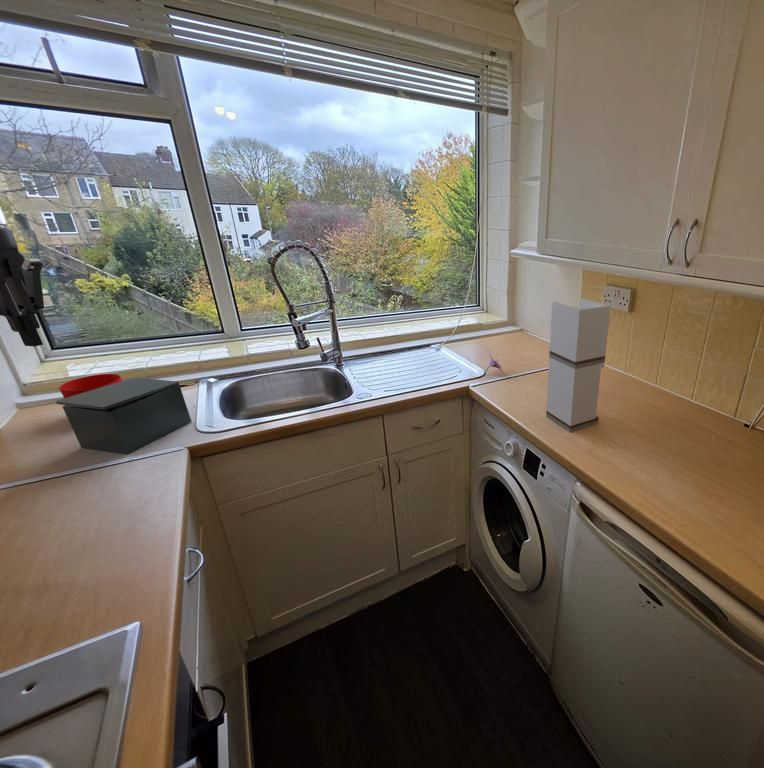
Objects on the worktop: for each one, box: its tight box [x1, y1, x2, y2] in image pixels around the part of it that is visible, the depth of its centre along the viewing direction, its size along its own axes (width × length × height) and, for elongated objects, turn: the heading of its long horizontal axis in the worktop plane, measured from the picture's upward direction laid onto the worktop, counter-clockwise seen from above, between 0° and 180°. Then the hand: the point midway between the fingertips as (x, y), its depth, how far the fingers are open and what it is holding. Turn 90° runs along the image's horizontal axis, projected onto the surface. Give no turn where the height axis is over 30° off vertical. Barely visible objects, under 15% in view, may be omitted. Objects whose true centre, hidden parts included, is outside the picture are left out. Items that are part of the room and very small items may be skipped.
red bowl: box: [58, 373, 123, 399], centre depth 118 cm, size 13×17×10 cm
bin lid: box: [55, 376, 180, 410], centre depth 105 cm, size 18×15×1 cm
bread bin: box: [61, 383, 192, 455], centre depth 108 cm, size 18×15×12 cm
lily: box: [483, 348, 505, 376], centre depth 154 cm, size 12×12×10 cm
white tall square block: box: [545, 298, 612, 433], centre depth 115 cm, size 11×11×35 cm
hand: (34, 345), depth 87 cm, fingers closed
